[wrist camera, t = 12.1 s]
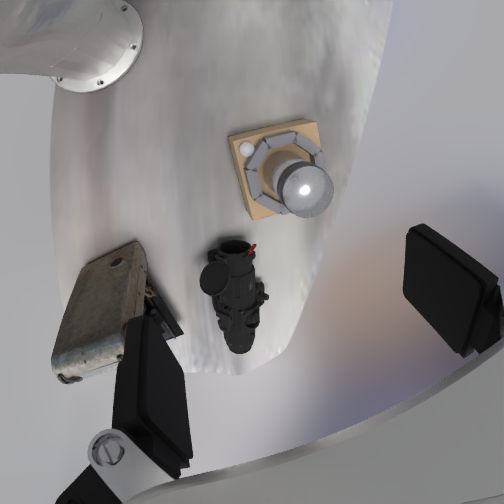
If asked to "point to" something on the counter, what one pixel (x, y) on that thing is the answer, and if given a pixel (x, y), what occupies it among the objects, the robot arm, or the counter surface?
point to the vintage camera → (107, 314)
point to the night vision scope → (234, 292)
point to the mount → (260, 149)
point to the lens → (298, 183)
